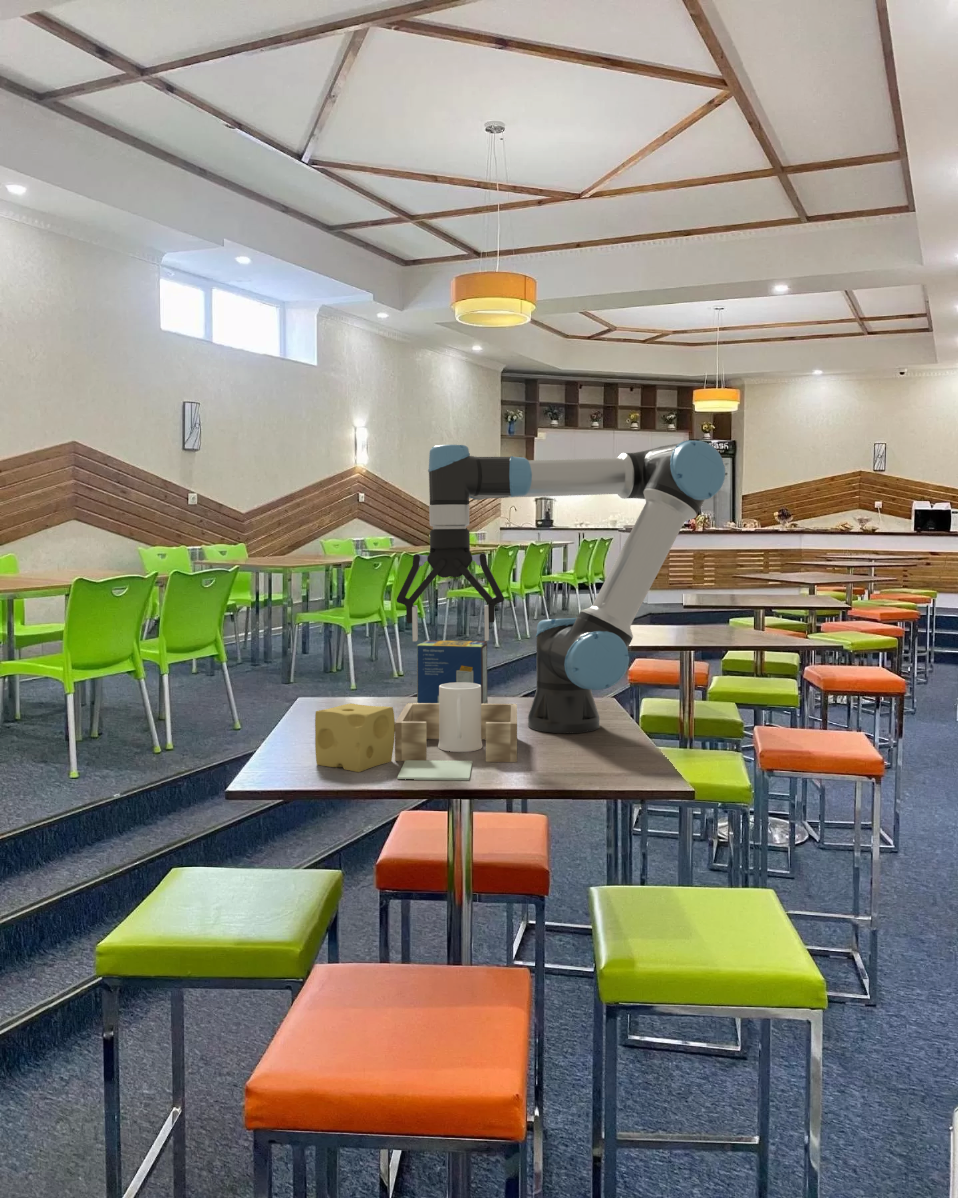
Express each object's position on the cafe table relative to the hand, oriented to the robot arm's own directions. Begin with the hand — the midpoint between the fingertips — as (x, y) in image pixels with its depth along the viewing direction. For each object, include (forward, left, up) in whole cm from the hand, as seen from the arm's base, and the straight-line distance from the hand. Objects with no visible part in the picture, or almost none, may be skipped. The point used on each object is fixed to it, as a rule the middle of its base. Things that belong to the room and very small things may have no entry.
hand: (451, 640), depth 181 cm
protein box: (+2, -42, -21) cm, 47 cm away
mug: (-2, +1, -21) cm, 21 cm away
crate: (-2, +1, -21) cm, 21 cm away
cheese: (+17, +12, -21) cm, 29 cm away
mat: (+1, +18, -21) cm, 27 cm away
